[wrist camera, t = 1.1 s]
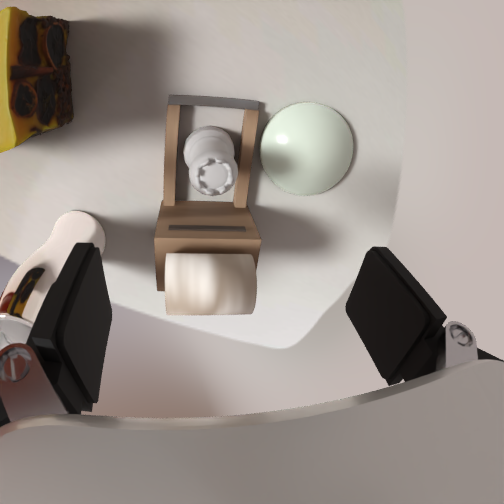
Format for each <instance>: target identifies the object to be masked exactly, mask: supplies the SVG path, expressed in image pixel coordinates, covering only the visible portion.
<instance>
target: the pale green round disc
mask: <svg viewBox="0 0 504 504" xmlns="http://www.w3.org/2000/svg"><path fill="white" fill-rule="evenodd" d="M259 151H260V159H261V163H262V166H263V168H264V170H265V172H266V173H267V175H268V176H269V178H270V179H271V180H272V181H273V182H274V183H275V184H276V185H277V186H278V187H279V188H281V189H282V190H284V191H286V192H288V193H291V194H294V195H299V196H310V195H316V194H319V193H322V192H324V191H326V190H328V189H330V188H331V187H333V186H334V185H335V184H337V183H338V182H339V181H340V180H341V178H342V177H343V176H344V175H345V173H346V171H347V170H348V168H349V165H350V163H351V160H352V155H353V138H352V134H351V131H350V128H349V126H348V124H347V123H346V121H345V120H344V119H343V118H342V116H341V115H340V114H338V113H337V112H336V111H335V110H333V109H331V108H330V107H327V106H325V105H322V104H318V103H313V102H300V103H295V104H291V105H289V106H287V107H284V108H283V109H281V110H280V111H278V112H277V113H276V114H275V115H274V116H273V117H272V118H271V119H270V120H269V122H268V123H267V125H266V126H265V128H264V130H263V133H262V136H261V140H260V148H259Z"/></svg>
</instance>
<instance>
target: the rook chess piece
mask: <svg viewBox="0 0 504 504" xmlns="http://www.w3.org/2000/svg"><path fill="white" fill-rule="evenodd" d="M183 154H184V160H185V163H186V164H187V166H188V168H189V178H190V182H191V183H192V185H193V187H194V188H195V189H196V190H197V191H199V192H200V193H202V194H205V195H210V196H214V195H221V194H223V193H225V192H227V191H228V190H230V188H231V187H232V186H233V185H234V184H235V182H236V179H237V176H238V167H237V164H236V162H235V160H234V155H235V152H234V144H233V141H232V139H231V138H230V136H229V134H227V133H226V132H225V131H224V130H222V129H221V128H217V127H213V126H207V127H201V128H199V129H197V130H195V131H193V132H192V133H191V134H190V135H189V137H188V138H187V139H186V141H185V144H184V148H183Z"/></svg>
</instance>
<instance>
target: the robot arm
mask: <svg viewBox="0 0 504 504" xmlns="http://www.w3.org/2000/svg"><path fill="white" fill-rule="evenodd" d="M346 313H347V315H348V317H349V318H350V320H351V322H352V324H353V325H354V327H355V329H356V331H357V332H358V334H359V336H360V338H361V340H362V341H363V343H364V345H365V347H366V349H367V350H368V352H369V354H370V356H371V358H372V360H373V361H374V363H375V365H376V367H377V369H378V371H379V373H380V375H381V376H382V378H384V379H386V381H387V383H388V385H389V386H390V385H394V384H397V383H400V381H401V380H402V379H404V381H405V382H404V383H401V384H397V385H394V386H391V387H387V388H383V389H380V390H376V391H372V392H369V393H365V394H361V395H357V396H353V397H348V398H344V399H340V400H335V401H331V402H325V403H320V404H315V405H310V406H304V407H298V408H292V409H286V410H278V411H271V412H263V413H254V414H245V415H234V416H220V417H201V418H132V417H113V416H96V415H81V411H89V412H92V406H93V403H97V402H98V398H99V390H100V383H101V375H102V369H103V363H104V357H105V351H106V346H107V341H108V336H109V331H110V326H111V321H112V308H111V304H110V300H109V295H108V291H107V286H106V281H105V276H104V271H103V265H102V260H101V254H100V249H99V248H98V247H95V246H94V244H93V243H85V242H78V243H76V244H75V245H74V247H73V249H72V251H71V252H70V254H69V256H68V258H67V260H66V262H65V264H64V266H63V268H62V270H61V271H60V273H59V275H58V277H57V279H56V282H54V283H52V285H51V286H50V288H49V291H48V293H47V295H46V297H45V299H44V301H43V303H42V306H41V308H40V310H39V312H38V315H37V317H36V319H35V322H34V324H33V327H32V329H31V331H30V334H29V336H28V339H27V342H26V344H23V343H13V344H10V345H7V346H6V347H4V348H3V349H1V351H0V504H504V361H503V360H500V359H499V358H497V357H495V356H493V355H491V354H489V353H487V352H485V351H482V350H481V349H478V348H477V345H476V339H475V336H474V335H473V333H472V332H471V330H470V329H469V328H467V327H466V326H465V325H463V324H462V323H459V322H456V321H451V322H449V323H448V324H447V325H446V326H445V328H444V327H443V326H442V324H443V322H444V321H445V320H446V318H447V316H446V315H445V314H444V312H443V311H442V310H441V309H440V307H439V306H438V305H437V304H436V303H435V301H434V300H433V299H432V298H431V297H430V295H429V294H428V293H427V292H426V291H425V289H424V288H423V287H422V286H421V285H420V284H419V282H418V281H417V280H416V279H415V278H414V277H413V276H412V274H411V273H410V272H409V271H408V270H407V269H406V268H405V266H404V265H403V264H402V263H401V262H400V261H399V260H398V259H397V258H396V257H395V256H394V254H393V253H392V252H391V251H390V250H389V249H388V248H387V247H372V248H371V249H370V250H369V251H368V252H367V253H366V255H365V258H364V260H363V263H362V266H361V268H360V271H359V274H358V276H357V279H356V281H355V284H354V286H353V289H352V291H351V293H350V296H349V298H348V301H347V303H346Z"/></svg>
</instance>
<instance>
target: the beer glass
mask: <svg viewBox="0 0 504 504" xmlns="http://www.w3.org/2000/svg"><path fill="white" fill-rule="evenodd" d="M78 242H85V243H93V244H94V246H95V247H98V248H99V249H100V254H102V253H103V251H104V248H105V243H106V238H105V233H104V230H103V228H102V226H101V225H100V223H99V222H98V221H97V220H96V219H95V218H94V217H93V216H91V215H89V214H87V213H85V212H82V211H70V212H67V213H65V214H63V215H62V216H60V217H59V219H58V220H57V222H56V223H55V226H54V228H53V231H52V234H51V236H50V237H49V239H48V240H47V241H46V242H45V243H44V244H43V245H42V246H41V247H40V248H38V249H37V250H36V251H35V252H34V253H33V254H32V255H31V256H29V257H28V258H27V259H26V260H25V261H24V262H23V263H22V265H21V266H20V267H19V268H18V269H17V270H16V272H15V273H14V274H13V276H12V277H11V279H10V280H9V282H8V283H7V285H6V287H5V289H4V291H3V292H2V294H1V297H0V351H1V349H3V348H4V347H6V346H7V345H10V344H13V343H23V344H26V342H27V339H28V336H29V334H30V331H31V329H32V327H33V324H34V322H35V319H36V317H37V315H38V312H39V310H40V308H41V306H42V303H43V301H44V299H45V297H46V295H47V293H48V291H49V288H50V286H51V285H52V283H54V282H56V279H57V277H58V275H59V273H60V271H61V270H62V268H63V266H64V264H65V262H66V260H67V258H68V256H69V254H70V252H71V251H72V249H73V247H74V245H75V244H76V243H78Z"/></svg>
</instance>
